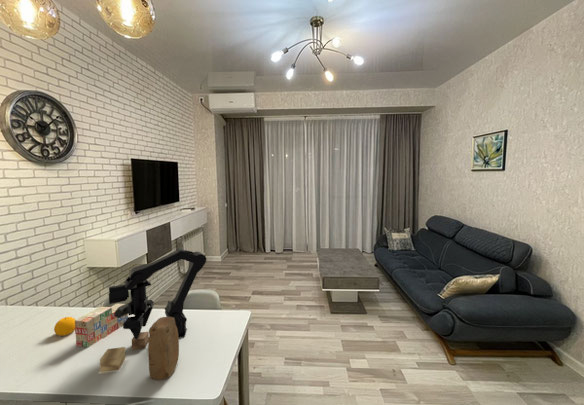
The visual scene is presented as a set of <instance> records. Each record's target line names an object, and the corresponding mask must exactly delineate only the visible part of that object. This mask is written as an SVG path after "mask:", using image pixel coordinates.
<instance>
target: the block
mask: <svg viewBox="0 0 584 405" xmlns="http://www.w3.org/2000/svg"><path fill="white" fill-rule="evenodd" d="M148 331H149V338H148V344H147V347H148V348H147V349H148V351H147V354H148V371H149V376H150V377H149V378H151V380H155V381H164V380H166V379H169V378H170V377H171V376H172V375H173V374H174V373H175V371H176V368H177V366H178V361H179V355H180V345H179V343H180V342H179V338H180V337H179V338H178V330H177V327H176V325H175V319H174V317H167V316H162V317H159V318H158V319H157V320H155V321H154V322H153V323H152V324H151V326H150V328H149V329H148Z"/></svg>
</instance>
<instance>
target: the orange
mask: <svg viewBox="0 0 584 405" xmlns="http://www.w3.org/2000/svg"><path fill="white" fill-rule="evenodd" d="M75 320H76V319H75V317H72V316H66V317H63V318H60V319H59V320H58V321H57V322H56V323H55V325H54V327H53V328H54V329H53V330H54V333H55V334H56V336H59V337H60V336H61V337H62V336H63V337H64V336H68V335H70V334H72V333H73V332H75Z"/></svg>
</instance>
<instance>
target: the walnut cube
mask: <svg viewBox="0 0 584 405" xmlns="http://www.w3.org/2000/svg"><path fill="white" fill-rule="evenodd" d="M148 338H149V330H148V331H141V332H140V335H139V337H138V339H135V338H134V336H133V337H132V338H131V350H132V351H133V350H143V349H146V348H147V347H148Z"/></svg>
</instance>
